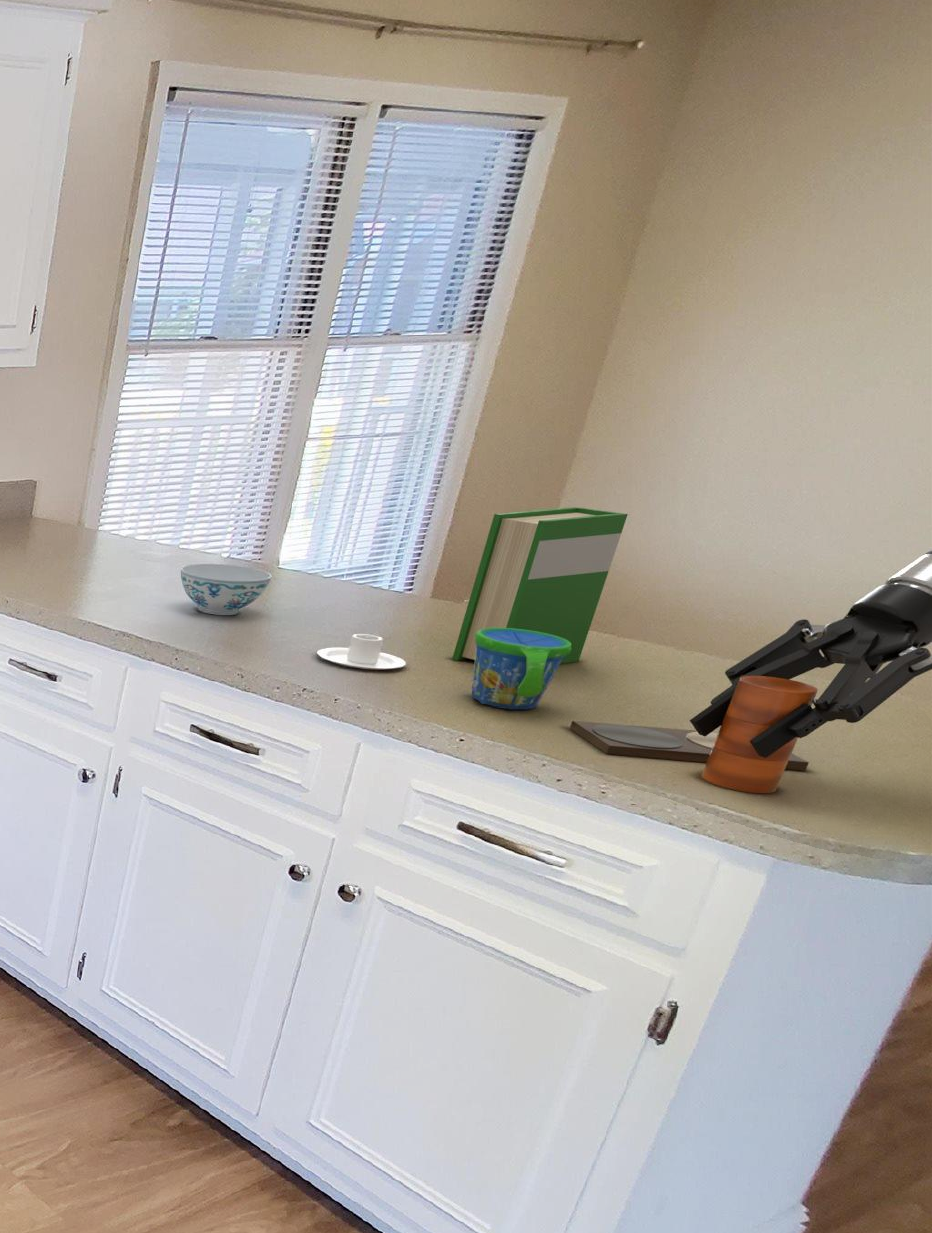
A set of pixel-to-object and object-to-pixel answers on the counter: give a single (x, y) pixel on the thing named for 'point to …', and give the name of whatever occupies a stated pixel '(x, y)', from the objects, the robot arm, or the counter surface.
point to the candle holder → (362, 654)
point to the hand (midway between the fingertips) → (726, 738)
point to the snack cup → (515, 666)
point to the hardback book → (542, 575)
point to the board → (656, 742)
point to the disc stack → (754, 734)
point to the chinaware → (223, 586)
